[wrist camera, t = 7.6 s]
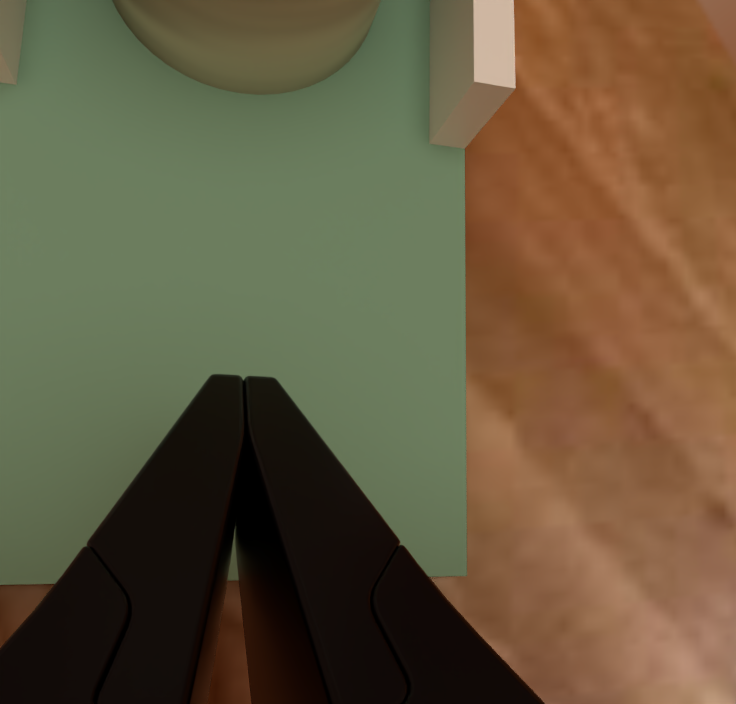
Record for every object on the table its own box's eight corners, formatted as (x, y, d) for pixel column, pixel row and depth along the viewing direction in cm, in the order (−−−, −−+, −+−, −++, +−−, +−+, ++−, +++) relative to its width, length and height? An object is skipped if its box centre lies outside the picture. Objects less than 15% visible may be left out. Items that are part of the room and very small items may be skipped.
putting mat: (451, 569, 17) (467, 576, 16) (-81, 578, 14) (-101, 586, 13) (450, -167, 21) (462, -197, 20) (30, -276, 18) (21, -318, 17)
